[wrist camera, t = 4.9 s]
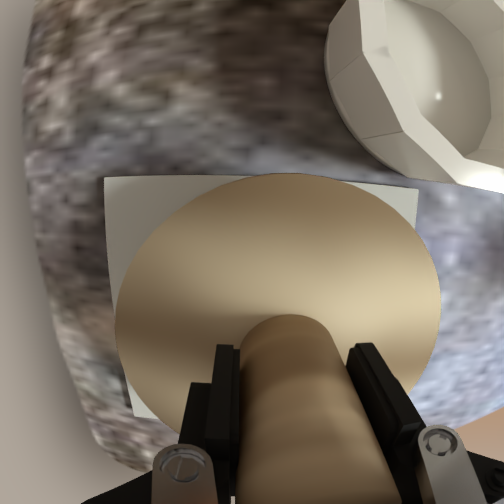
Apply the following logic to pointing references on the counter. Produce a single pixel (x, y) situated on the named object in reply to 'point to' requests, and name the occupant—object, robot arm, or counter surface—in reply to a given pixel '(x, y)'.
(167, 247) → the lid
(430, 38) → the bowl
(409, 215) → the mat
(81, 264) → the counter surface
